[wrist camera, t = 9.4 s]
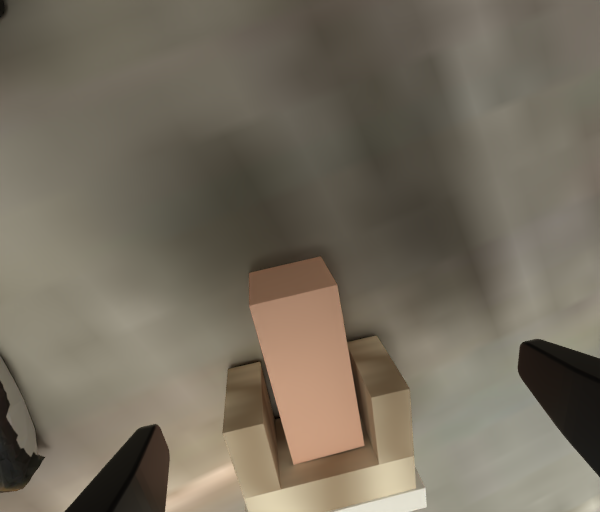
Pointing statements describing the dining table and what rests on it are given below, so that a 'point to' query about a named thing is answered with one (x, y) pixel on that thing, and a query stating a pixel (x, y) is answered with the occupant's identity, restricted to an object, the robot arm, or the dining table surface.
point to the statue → (15, 436)
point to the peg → (306, 357)
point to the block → (330, 469)
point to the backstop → (391, 501)
